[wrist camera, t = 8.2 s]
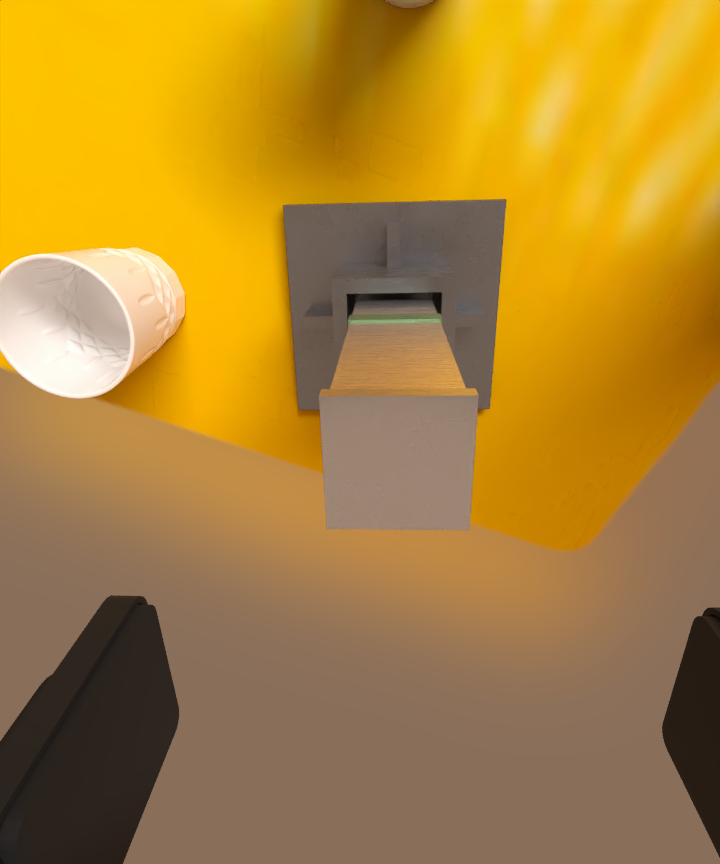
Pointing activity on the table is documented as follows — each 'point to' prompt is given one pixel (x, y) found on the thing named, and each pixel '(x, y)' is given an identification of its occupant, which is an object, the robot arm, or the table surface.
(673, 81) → the table surface
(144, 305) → the white cup
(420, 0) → the coffee cup
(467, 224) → the stand base
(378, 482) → the post
